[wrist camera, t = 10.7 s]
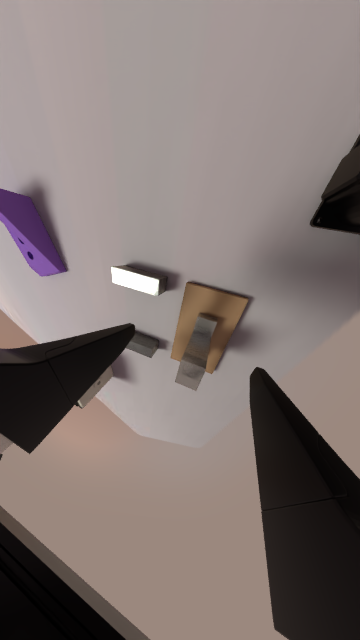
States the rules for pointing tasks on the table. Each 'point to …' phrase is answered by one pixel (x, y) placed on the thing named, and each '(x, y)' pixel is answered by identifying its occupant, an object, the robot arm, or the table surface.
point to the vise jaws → (146, 284)
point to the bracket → (29, 233)
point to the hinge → (95, 387)
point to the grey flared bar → (196, 352)
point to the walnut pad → (213, 305)
